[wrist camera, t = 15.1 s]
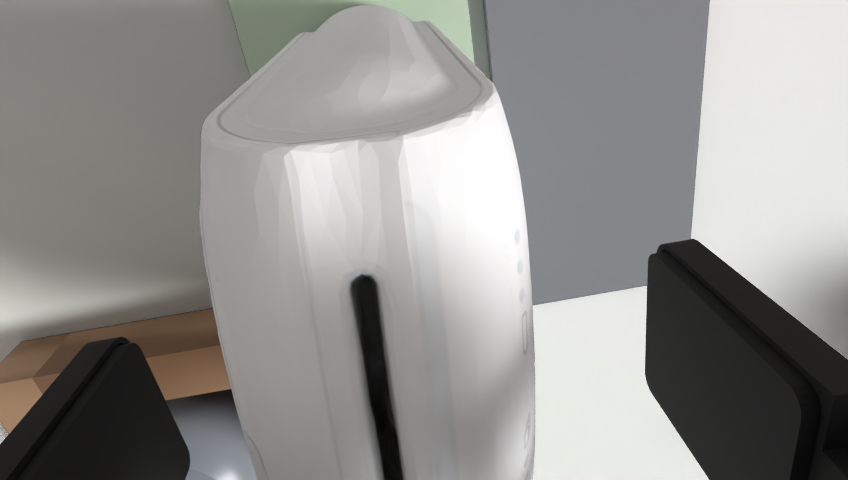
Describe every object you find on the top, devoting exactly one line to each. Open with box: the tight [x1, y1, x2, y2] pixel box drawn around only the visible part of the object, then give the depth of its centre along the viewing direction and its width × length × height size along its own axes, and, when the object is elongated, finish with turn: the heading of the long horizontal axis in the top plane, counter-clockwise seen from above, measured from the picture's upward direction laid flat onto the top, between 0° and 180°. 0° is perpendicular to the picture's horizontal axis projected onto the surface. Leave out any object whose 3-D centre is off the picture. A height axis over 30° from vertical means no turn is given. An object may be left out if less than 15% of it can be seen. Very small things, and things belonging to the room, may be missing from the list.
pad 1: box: [228, 0, 474, 78], centre depth 17 cm, size 12×6×1 cm, turn 9°
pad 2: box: [483, 0, 710, 305], centre depth 17 cm, size 12×6×1 cm, turn 9°
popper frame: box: [0, 308, 231, 434], centre depth 20 cm, size 10×10×2 cm
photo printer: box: [199, 5, 535, 480], centre depth 12 cm, size 10×4×12 cm, turn 5°
